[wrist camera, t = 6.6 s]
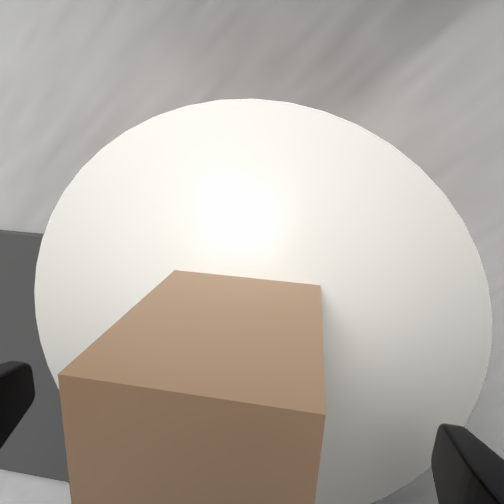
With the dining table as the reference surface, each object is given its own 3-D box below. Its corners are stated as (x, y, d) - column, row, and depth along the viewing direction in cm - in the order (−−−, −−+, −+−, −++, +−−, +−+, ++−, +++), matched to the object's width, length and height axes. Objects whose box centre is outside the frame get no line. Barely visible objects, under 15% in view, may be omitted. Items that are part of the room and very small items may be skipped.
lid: (431, 531, 12) (524, 841, 7) (69, 463, 14) (-87, 666, 9) (535, 113, 9) (909, 58, 3) (30, 93, 11) (-282, 35, 5)
